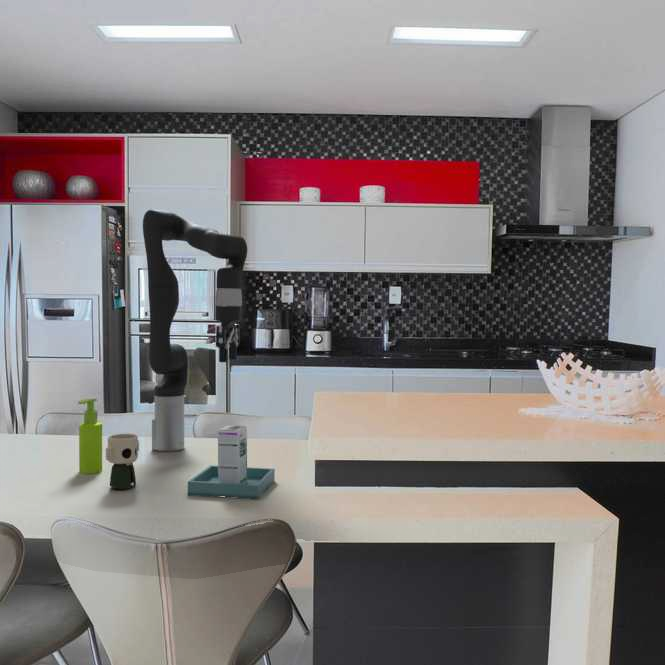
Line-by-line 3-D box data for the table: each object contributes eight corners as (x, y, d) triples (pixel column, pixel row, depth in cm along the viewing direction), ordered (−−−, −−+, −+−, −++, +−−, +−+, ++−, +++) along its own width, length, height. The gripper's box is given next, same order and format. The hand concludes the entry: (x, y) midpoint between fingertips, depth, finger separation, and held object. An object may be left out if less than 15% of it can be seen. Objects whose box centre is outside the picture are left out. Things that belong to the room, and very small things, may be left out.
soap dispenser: (71, 473, 169) (71, 400, 168) (89, 467, 175) (89, 396, 174) (89, 475, 167) (89, 401, 166) (106, 469, 173) (106, 397, 172)
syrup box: (239, 488, 154) (240, 430, 153) (217, 486, 155) (217, 429, 155) (247, 482, 160) (247, 425, 159) (225, 480, 161) (225, 424, 160)
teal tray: (187, 495, 151) (187, 481, 151) (210, 477, 166) (210, 465, 166) (258, 499, 148) (258, 485, 148) (274, 481, 164) (274, 468, 164)
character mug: (117, 495, 150) (117, 441, 150) (95, 491, 153) (95, 438, 153) (149, 483, 160) (149, 433, 159) (127, 480, 163) (127, 430, 162)
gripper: (224, 304, 187) (223, 358, 188) (207, 304, 173) (206, 362, 174) (248, 304, 186) (247, 359, 186) (233, 304, 172) (232, 363, 172)
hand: (228, 360), depth 180 cm, fingers open, 8 cm apart
